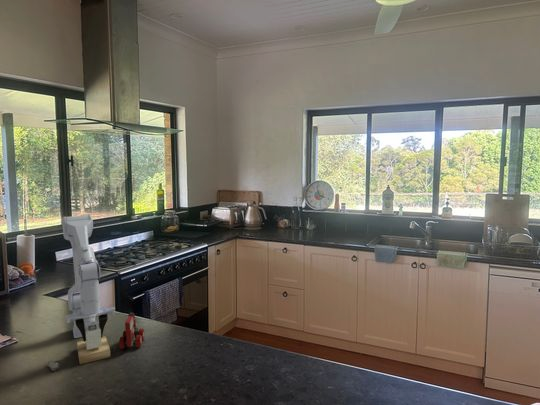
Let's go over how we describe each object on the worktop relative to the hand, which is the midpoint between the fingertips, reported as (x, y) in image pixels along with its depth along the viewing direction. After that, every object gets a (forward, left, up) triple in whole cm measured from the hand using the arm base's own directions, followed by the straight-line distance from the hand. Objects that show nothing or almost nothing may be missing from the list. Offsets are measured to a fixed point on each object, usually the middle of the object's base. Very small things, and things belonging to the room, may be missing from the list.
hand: (92, 338), depth 128 cm
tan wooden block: (0, 0, -5) cm, 5 cm away
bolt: (+4, -12, -5) cm, 14 cm away
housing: (0, 0, -2) cm, 2 cm away
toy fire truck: (0, +13, -5) cm, 14 cm away
